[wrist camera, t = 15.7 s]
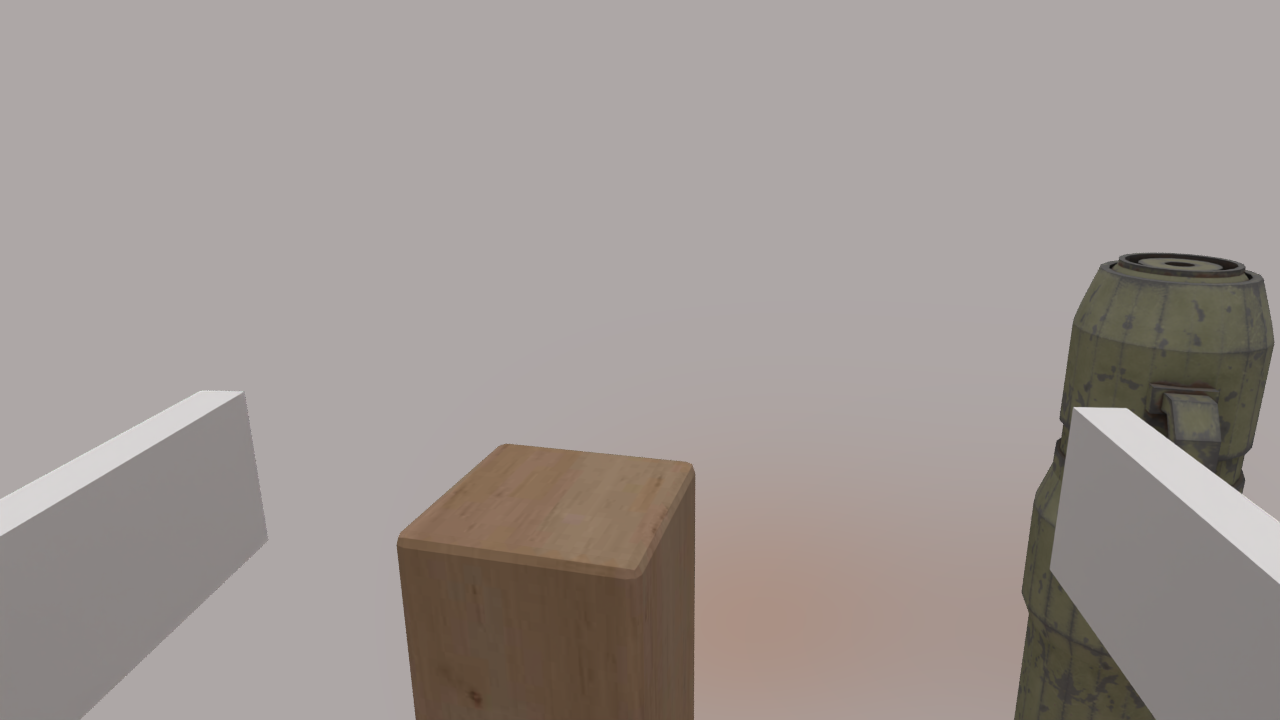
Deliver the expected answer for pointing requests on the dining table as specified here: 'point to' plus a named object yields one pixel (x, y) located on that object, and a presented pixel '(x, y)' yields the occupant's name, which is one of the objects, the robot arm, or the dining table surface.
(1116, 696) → the thermos
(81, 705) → the robot arm
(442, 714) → the wooden block
